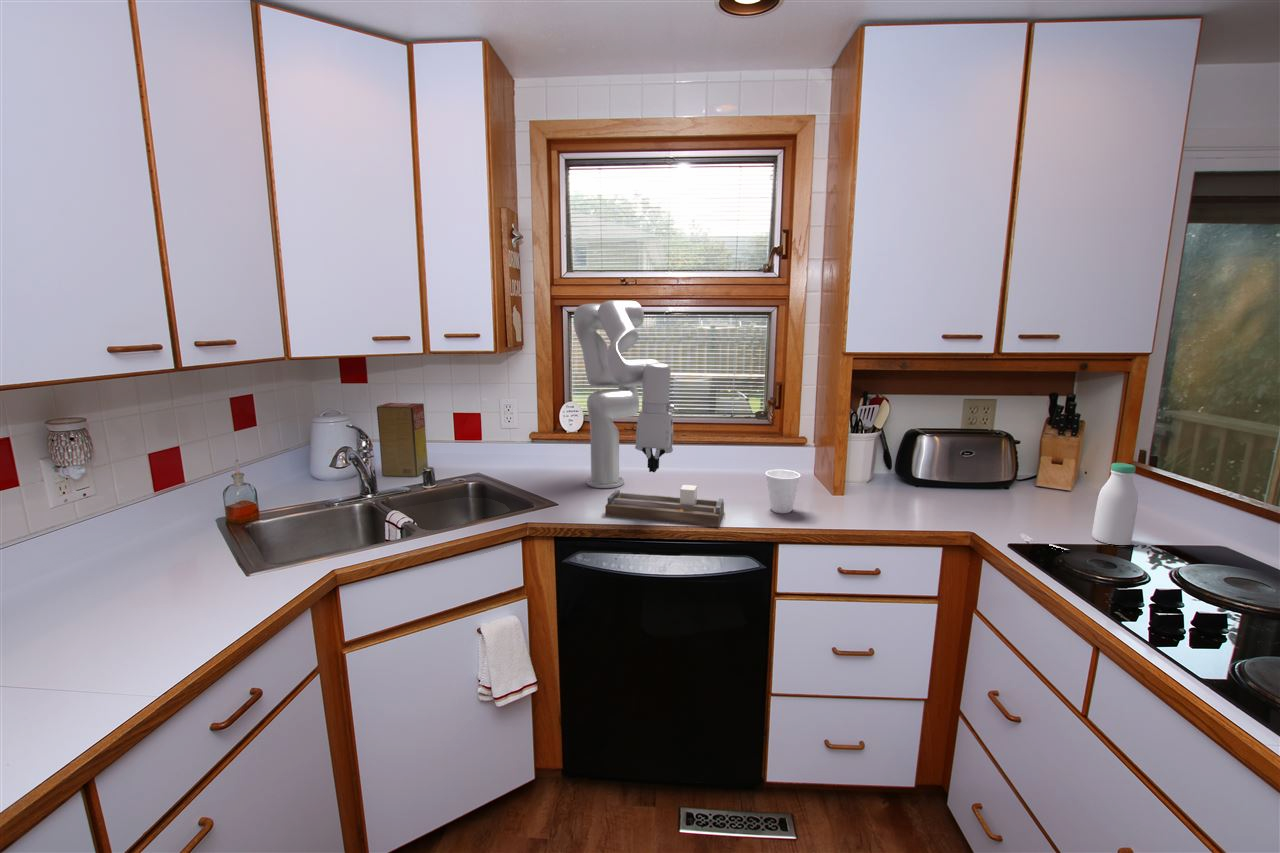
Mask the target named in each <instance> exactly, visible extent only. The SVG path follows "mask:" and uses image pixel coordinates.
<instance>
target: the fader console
mask: <svg viewBox="0 0 1280 853" xmlns="http://www.w3.org/2000/svg"><path fill="white" fill-rule="evenodd" d="M724 510H725V502H724V498H718V500H716V499H704V498H703V499H702V498H697V503H696V505H686V504H680V496H667V495H658V494H657V495H656V494H655V495H654V494H644V493H635V492H634V493H632V492H621V491H620V490H619V489H615V490H614V491H613V492H612V493H611V494H610V495H609V496H608V497H607V504H605V515H606V516H605V517H613V516H616V518H624V519H626V518H627V519H634V518H635V519H637V520H647V521H655V522H656V521H657V522H668V523H679V524H685V525H687V524H689V525H697V526H707V525H708V526H710V527H718V526H719V527H720V524H721V521H722V519H723V518H722V517H723V515H724V513H725V512H724Z"/></svg>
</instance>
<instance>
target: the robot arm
mask: <svg viewBox="0 0 1280 853" xmlns="http://www.w3.org/2000/svg"><path fill="white" fill-rule="evenodd" d="M644 319H645V313H644V310H643V307H642V305H641V304H640V303H639V302H637V301H636V300H619V299H618V300H617V299H615V300H613V299H611V300H607V301H603V302H602V303H584V304H581V305H579V306H577V307H576V308H575V310H574V312H573V327H574V332H575V336H576V337H577V339H578V342H579V344H580V348H581V350H582V358H583V364H584V367H585V368H584V369H585V375H586V379H587V383H588V384H589V385H590V386H591V387H595V388H609V387H611V388H612V387H616V388H618V389H603V390H596V391H594V392H592V393H590V394H589V395H588V397H587V400H586V408H587V413H588V418H589V419H588V420H589V430H590V433H589V434H590V477H588V478H587V479H586V485H587V486H589V487H590V488H591V487H592V488H596V489H614V488H618V487H620V486H622V485H624V484H625V479H624V478H623V477H621V476H620V432H619V428H618V427H617V425H615V423H614V422H613V420H615V419H621V418H622V419H623V418H631V417H634V416H635V415H637V414H638V412H639V414H638V417H637V424H636V431H635V447H634V448H635V450H638V451H639V452H642V453H643V454H644V455H645V456H646V458H647V468H648V471H649V472H650V473H656V471H657V470H658V469H659V468H660V458H661V457H662V456H663V455H664V454H671V453H673V451H674V448H673V443H674V420H673V413H672V412H670V411H675V405H673V404H671V403H670V394H671V393H670V392H671V391H670V389H671V367H670V365H669V364H666V363H663V362H660V361H658V360H657V359H653V358H648V359H647V358H645V359H641V358H640V359H637V358H636V359H627V358H624V357H622V355H621V354H622V353H624V352H626V351H628V350H630V349H631V348H633V347H634V346H635V344H636V343H637V341H638V340H639V333H638V330H637V328H639V327H640V326H642V324H643V323H644ZM597 330H599V331H603V330H604V331H605V334H606V336H607V338H608V339H609V342H610V344H607V342H606V340H605V339H604V338H603V337H602V335H601V334H599V333H598V332H597ZM608 345H609V346H608ZM637 387H642V393H641V394H642V395H641V396H642V397H641V410H640V409H639V408H640V399H639V392H638V388H637ZM639 410H640V411H639ZM653 449H655V454H654V453H653V452H654V451H653Z"/></svg>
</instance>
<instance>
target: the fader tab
mask: <svg viewBox="0 0 1280 853" xmlns="http://www.w3.org/2000/svg"><path fill="white" fill-rule="evenodd" d="M679 489H680V490H679V497H680V504H686V505H696V503H697V499H698V486H697V485H692V484H691V485H690V484H682V486H681V488H679Z"/></svg>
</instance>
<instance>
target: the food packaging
mask: <svg viewBox="0 0 1280 853" xmlns="http://www.w3.org/2000/svg"><path fill="white" fill-rule="evenodd" d="M376 416H377V425H378V427H377V428H378V435H379V436H378V437H379V451H380V461H381V462H380V463H381V464H380V466H381V476H382V477H394V478H395V477H397V478H401V477H403V478H417V477H419V476H421V475H423V474H422V470H423V469H424V468H428V469H429V466H428V464H429V463H428V449H427V438H426V437H427V436H426V421H425V420H426V419H425V418H426V416H425V405H424V403H420V402H419V403H417V402H416V403H411V402H410V403H409V402H407V403H406V402H405V403H404V402H388V403H384V404H379V405H376Z"/></svg>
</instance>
